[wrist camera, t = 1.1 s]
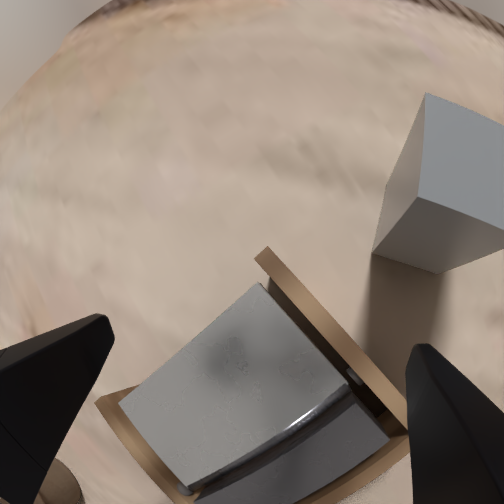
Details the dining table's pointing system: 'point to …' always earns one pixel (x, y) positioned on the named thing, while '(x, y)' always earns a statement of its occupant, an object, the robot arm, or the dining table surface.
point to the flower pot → (57, 486)
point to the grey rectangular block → (445, 190)
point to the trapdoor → (253, 410)
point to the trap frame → (359, 370)
